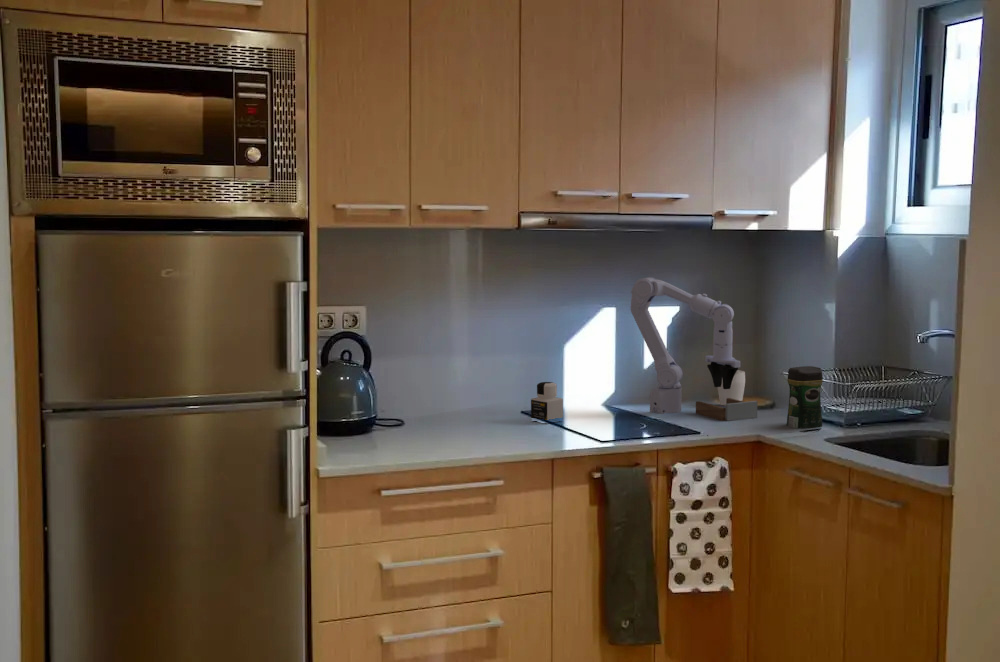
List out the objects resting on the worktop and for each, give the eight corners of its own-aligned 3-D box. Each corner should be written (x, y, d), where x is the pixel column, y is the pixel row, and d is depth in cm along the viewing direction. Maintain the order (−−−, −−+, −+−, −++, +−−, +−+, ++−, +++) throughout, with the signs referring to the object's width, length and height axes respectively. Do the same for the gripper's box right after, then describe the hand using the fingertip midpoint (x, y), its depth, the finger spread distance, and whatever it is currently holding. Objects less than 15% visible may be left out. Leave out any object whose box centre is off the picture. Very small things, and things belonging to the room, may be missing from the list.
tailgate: (727, 422, 292) (727, 404, 291) (725, 421, 293) (725, 404, 292) (757, 418, 297) (757, 401, 296) (755, 418, 298) (755, 400, 297)
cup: (728, 404, 326) (728, 368, 324) (750, 408, 319) (751, 371, 318) (710, 407, 320) (711, 371, 319) (733, 411, 313) (734, 374, 312)
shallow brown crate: (722, 424, 293) (722, 408, 292) (695, 417, 304) (695, 401, 304) (756, 420, 298) (756, 404, 298) (729, 413, 310) (729, 398, 309)
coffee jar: (809, 425, 290) (811, 363, 288) (826, 431, 283) (828, 367, 281) (781, 428, 287) (782, 365, 285) (797, 433, 280) (799, 369, 278)
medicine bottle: (530, 421, 301) (530, 382, 300) (547, 418, 306) (546, 380, 304) (547, 424, 296) (546, 385, 294) (563, 421, 300) (563, 382, 299)
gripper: (748, 345, 296) (748, 390, 297) (718, 340, 309) (717, 383, 310) (730, 347, 293) (729, 392, 294) (700, 342, 306) (699, 385, 307)
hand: (722, 387), depth 302 cm, fingers open, 4 cm apart
